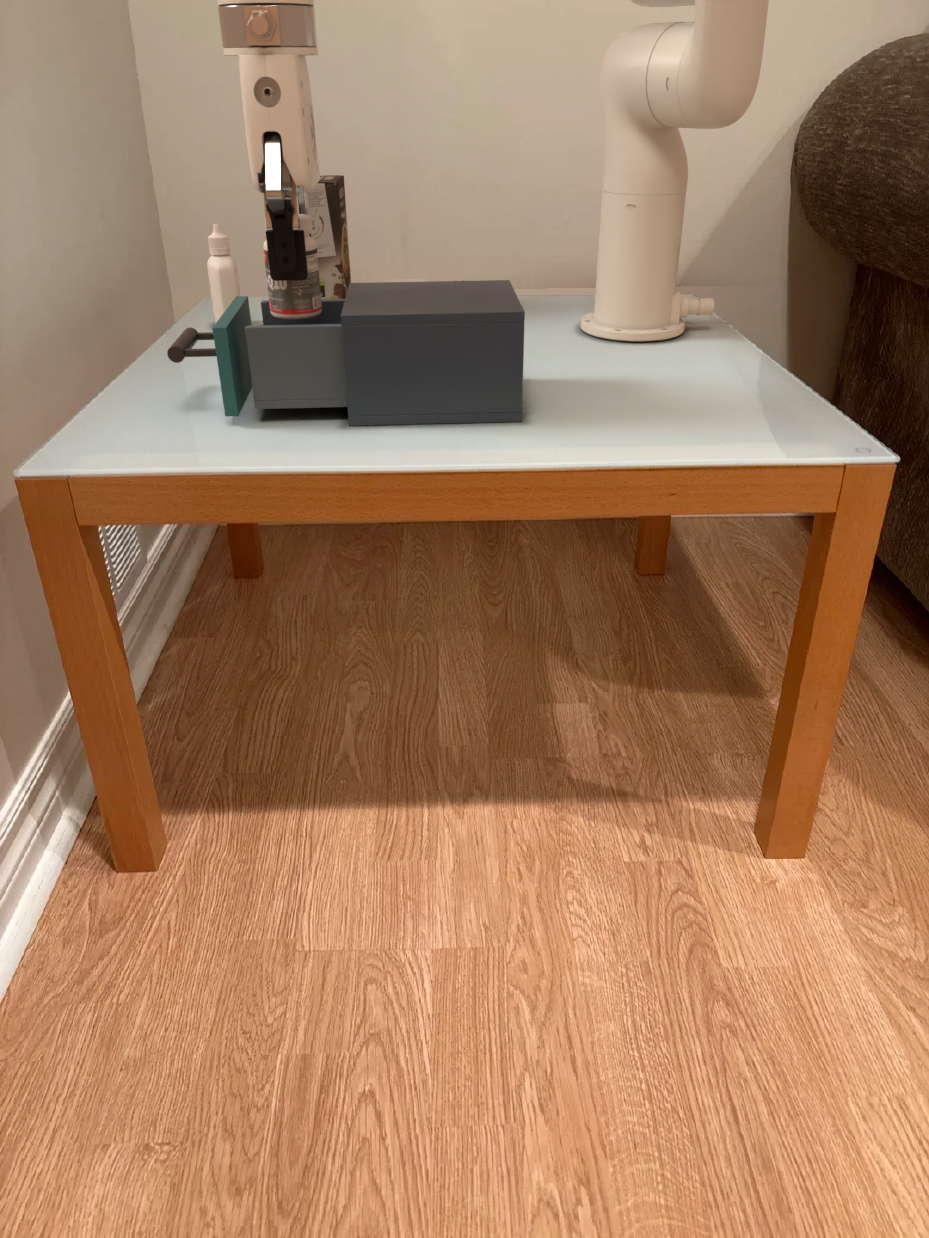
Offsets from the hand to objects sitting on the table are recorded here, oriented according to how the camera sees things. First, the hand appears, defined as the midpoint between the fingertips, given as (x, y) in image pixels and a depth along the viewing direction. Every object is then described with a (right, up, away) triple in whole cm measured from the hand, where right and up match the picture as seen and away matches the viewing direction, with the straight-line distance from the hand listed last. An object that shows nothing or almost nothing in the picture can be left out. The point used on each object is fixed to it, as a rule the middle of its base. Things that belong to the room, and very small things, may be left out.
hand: (292, 271), depth 83 cm
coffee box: (-3, +10, +40) cm, 42 cm away
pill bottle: (0, -3, +2) cm, 4 cm away
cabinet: (+12, -10, +7) cm, 17 cm away
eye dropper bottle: (-14, +5, +33) cm, 36 cm away
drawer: (-2, -10, +6) cm, 11 cm away
